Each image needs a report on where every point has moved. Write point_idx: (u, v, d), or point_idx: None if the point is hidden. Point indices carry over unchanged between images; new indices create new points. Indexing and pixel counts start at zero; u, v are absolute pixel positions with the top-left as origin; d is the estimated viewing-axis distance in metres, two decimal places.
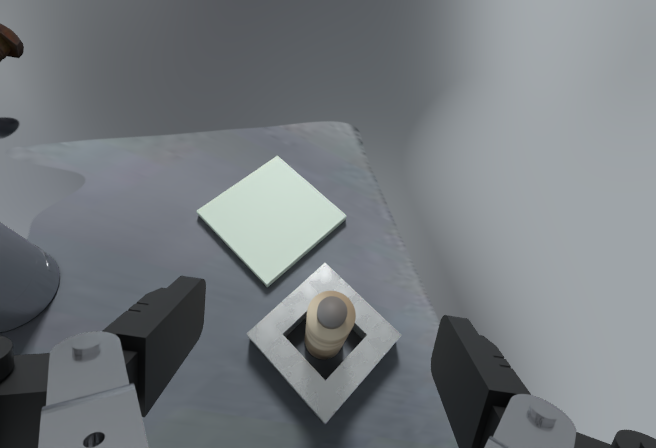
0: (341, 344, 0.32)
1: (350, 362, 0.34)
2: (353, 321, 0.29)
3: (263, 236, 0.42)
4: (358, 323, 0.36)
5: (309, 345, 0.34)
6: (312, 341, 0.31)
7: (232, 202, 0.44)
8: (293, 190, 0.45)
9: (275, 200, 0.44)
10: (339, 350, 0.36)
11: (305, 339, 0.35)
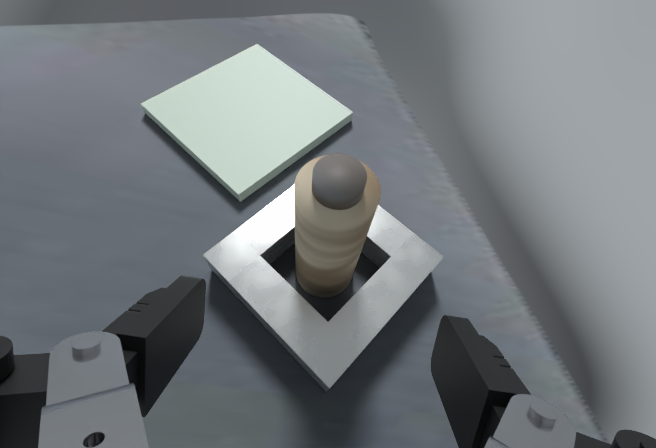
0: (353, 257, 0.19)
1: (367, 294, 0.22)
2: (377, 198, 0.16)
3: (235, 135, 0.29)
4: (377, 241, 0.24)
5: (301, 268, 0.21)
6: (305, 250, 0.19)
7: (193, 94, 0.31)
8: (279, 82, 0.33)
9: (253, 93, 0.32)
10: (348, 283, 0.24)
11: (295, 264, 0.23)
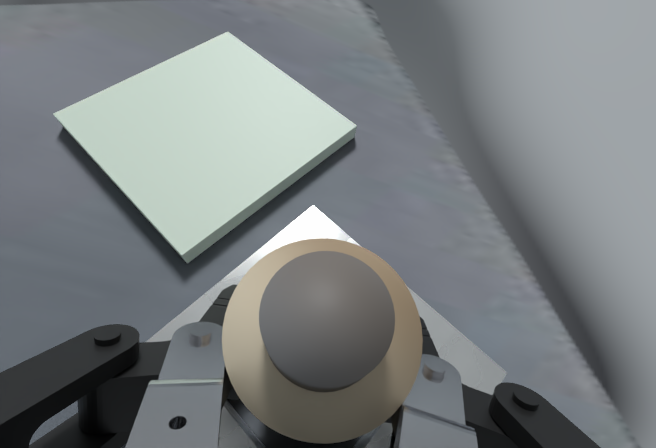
0: None
1: None
2: (415, 354, 0.07)
3: (186, 160, 0.20)
4: None
5: None
6: None
7: (130, 100, 0.22)
8: (254, 83, 0.24)
9: (217, 98, 0.23)
10: None
11: None
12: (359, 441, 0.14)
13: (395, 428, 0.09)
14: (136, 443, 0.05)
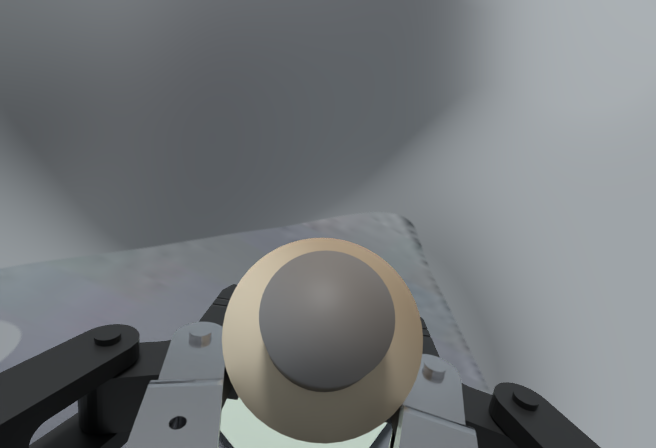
0: None
1: None
2: (415, 354, 0.07)
3: None
4: None
5: None
6: None
7: None
8: None
9: None
10: None
11: None
12: None
13: (395, 428, 0.09)
14: (136, 443, 0.05)
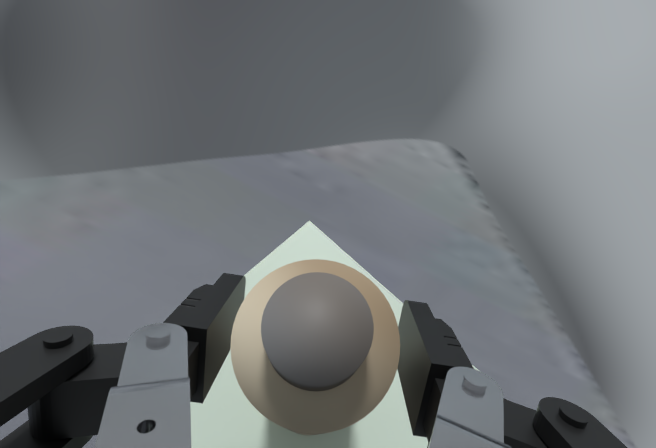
0: None
1: None
2: (393, 359, 0.08)
3: None
4: None
5: None
6: None
7: None
8: None
9: None
10: None
11: None
12: None
13: None
14: None
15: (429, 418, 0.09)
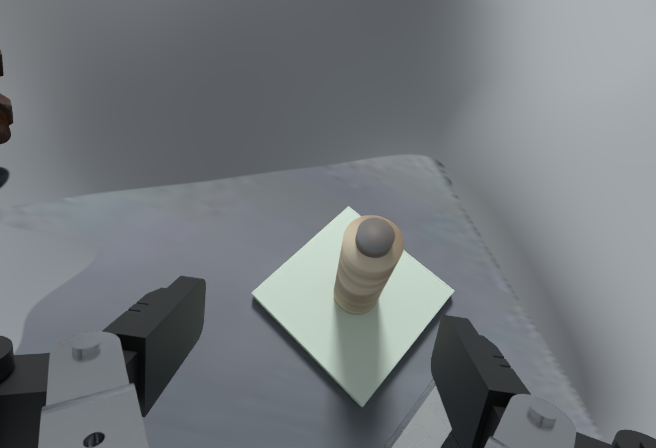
0: (383, 286, 0.26)
1: None
2: (401, 248, 0.23)
3: (347, 328, 0.30)
4: None
5: (342, 293, 0.28)
6: (348, 282, 0.25)
7: (298, 277, 0.32)
8: None
9: None
10: None
11: (335, 289, 0.30)
12: None
13: None
14: None
15: None
